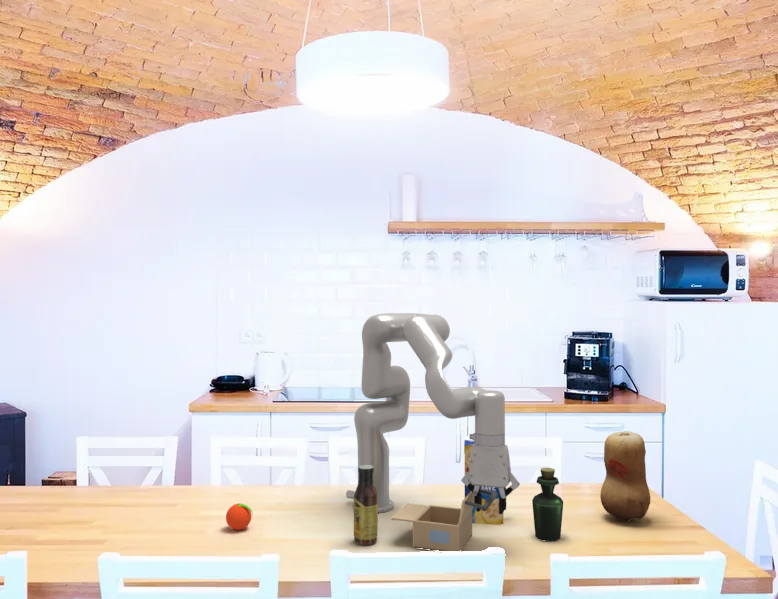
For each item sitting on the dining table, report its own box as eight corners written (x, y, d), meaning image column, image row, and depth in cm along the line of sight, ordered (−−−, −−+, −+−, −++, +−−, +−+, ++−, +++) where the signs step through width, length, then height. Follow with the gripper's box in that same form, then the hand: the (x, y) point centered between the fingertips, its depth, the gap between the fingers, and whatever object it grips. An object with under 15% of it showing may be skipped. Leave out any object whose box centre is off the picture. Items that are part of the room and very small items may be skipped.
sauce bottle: (353, 538, 178) (353, 463, 178) (376, 537, 179) (376, 462, 179) (354, 547, 172) (353, 469, 172) (378, 546, 172) (378, 468, 172)
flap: (462, 499, 167) (487, 506, 165) (474, 485, 179) (498, 492, 177) (458, 523, 167) (482, 531, 165) (470, 508, 179) (493, 515, 177)
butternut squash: (591, 520, 192) (591, 432, 192) (612, 509, 202) (612, 426, 202) (639, 531, 183) (639, 439, 183) (658, 519, 193) (658, 432, 193)
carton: (390, 545, 173) (390, 518, 173) (408, 528, 186) (408, 502, 186) (458, 554, 167) (458, 526, 166) (472, 536, 180) (472, 509, 180)
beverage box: (503, 524, 189) (503, 446, 189) (464, 523, 190) (464, 445, 190) (502, 516, 196) (502, 441, 196) (464, 515, 197) (464, 440, 197)
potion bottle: (529, 531, 183) (529, 465, 183) (559, 532, 183) (559, 465, 183) (535, 542, 175) (535, 473, 175) (566, 543, 174) (566, 473, 174)
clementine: (259, 527, 187) (259, 501, 187) (246, 535, 181) (246, 508, 181) (234, 523, 190) (234, 498, 190) (220, 532, 183) (220, 505, 183)
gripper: (453, 440, 170) (453, 512, 170) (521, 445, 164) (521, 519, 164) (460, 434, 177) (461, 503, 177) (526, 439, 171) (526, 510, 171)
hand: (490, 510), depth 171 cm, fingers open, 5 cm apart
